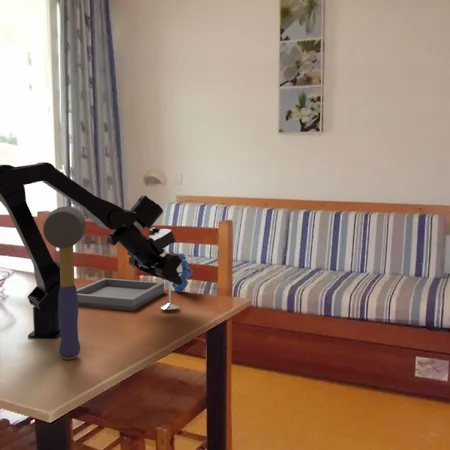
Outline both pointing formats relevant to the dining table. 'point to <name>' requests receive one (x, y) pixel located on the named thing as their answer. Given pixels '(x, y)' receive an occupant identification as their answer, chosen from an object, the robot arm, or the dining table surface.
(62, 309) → the rubber mallet
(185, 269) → the grapes
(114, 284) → the tray
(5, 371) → the dining table surface
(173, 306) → the wineglass
